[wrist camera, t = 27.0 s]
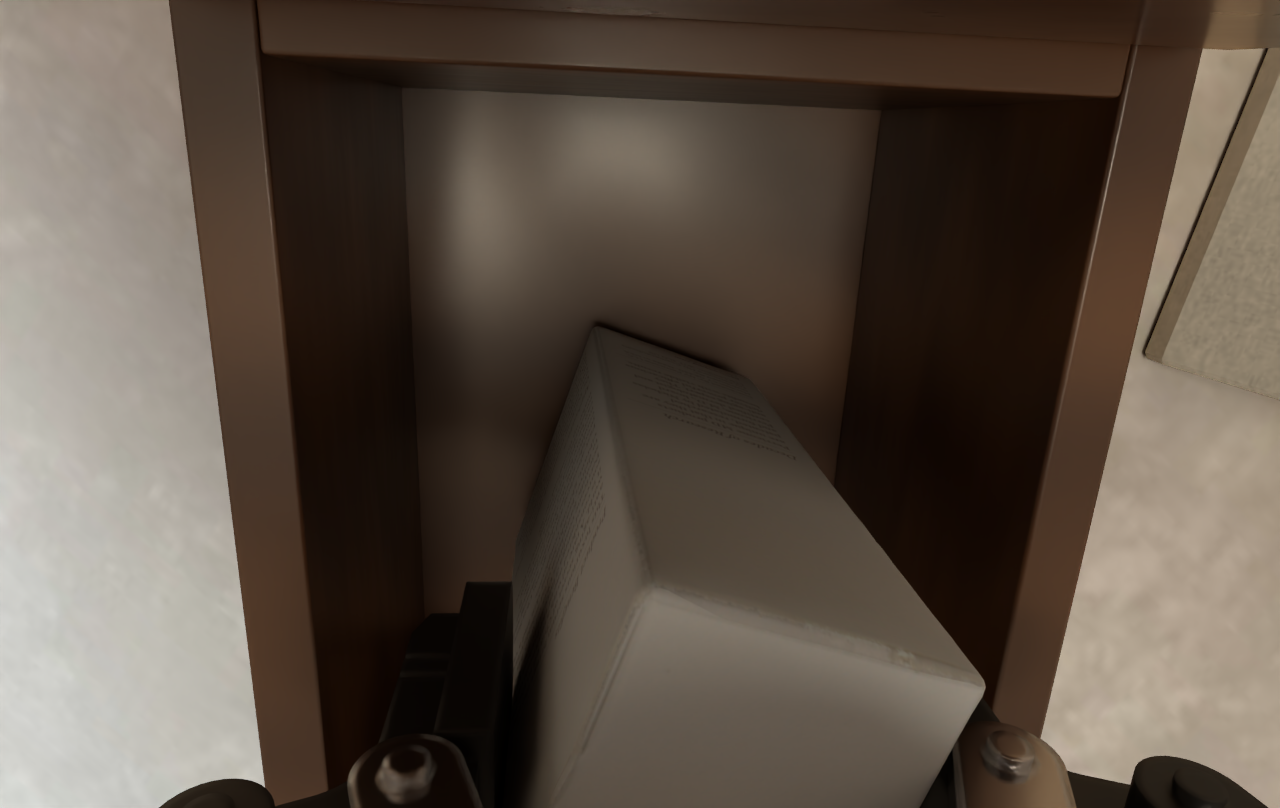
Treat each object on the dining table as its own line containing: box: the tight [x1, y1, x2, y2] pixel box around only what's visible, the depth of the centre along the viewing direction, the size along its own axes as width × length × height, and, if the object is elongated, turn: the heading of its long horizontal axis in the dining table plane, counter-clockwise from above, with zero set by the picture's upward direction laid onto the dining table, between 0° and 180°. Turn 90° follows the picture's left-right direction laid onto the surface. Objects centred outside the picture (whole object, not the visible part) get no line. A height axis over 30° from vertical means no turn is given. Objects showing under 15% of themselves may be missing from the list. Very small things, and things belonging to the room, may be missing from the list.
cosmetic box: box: [502, 326, 986, 808], centre depth 15 cm, size 6×4×12 cm
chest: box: [169, 0, 1203, 806], centre depth 17 cm, size 16×13×10 cm
